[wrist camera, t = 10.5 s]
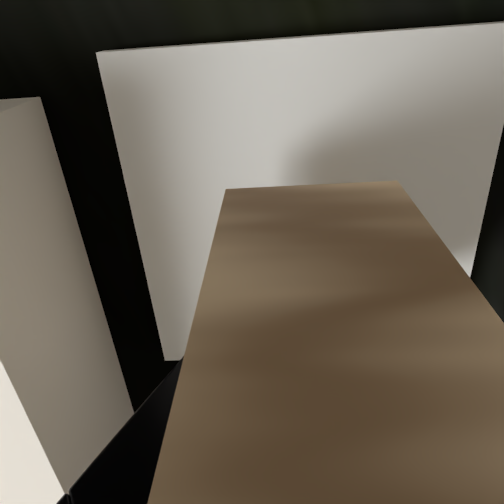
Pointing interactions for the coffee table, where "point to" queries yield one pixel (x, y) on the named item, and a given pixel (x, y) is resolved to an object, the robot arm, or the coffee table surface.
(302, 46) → the mat
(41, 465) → the breaker housing
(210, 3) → the coffee table surface
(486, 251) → the coffee table surface
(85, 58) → the coffee table surface
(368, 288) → the wooden block
